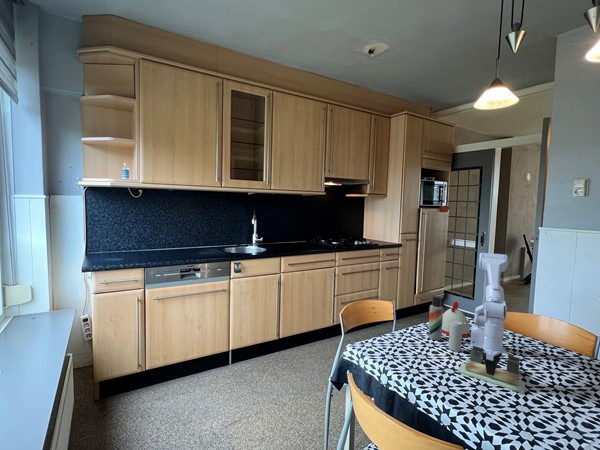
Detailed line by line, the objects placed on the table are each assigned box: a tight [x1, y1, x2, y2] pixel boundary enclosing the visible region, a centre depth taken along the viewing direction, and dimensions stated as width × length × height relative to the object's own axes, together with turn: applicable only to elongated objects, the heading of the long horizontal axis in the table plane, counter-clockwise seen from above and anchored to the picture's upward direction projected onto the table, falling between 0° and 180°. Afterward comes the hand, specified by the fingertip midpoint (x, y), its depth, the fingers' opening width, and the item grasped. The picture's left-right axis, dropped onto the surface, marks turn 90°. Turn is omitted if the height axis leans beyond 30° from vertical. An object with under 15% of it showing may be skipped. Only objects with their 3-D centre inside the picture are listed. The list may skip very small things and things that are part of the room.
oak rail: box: [465, 359, 520, 385], centre depth 110 cm, size 16×3×2 cm, turn 52°
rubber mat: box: [457, 362, 526, 394], centre depth 111 cm, size 20×8×1 cm, turn 52°
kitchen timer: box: [442, 300, 471, 338], centre depth 152 cm, size 14×14×15 cm
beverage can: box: [448, 321, 463, 353], centre depth 132 cm, size 5×5×12 cm
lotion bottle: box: [427, 295, 444, 341], centre depth 144 cm, size 6×6×20 cm
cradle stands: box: [469, 346, 521, 375], centre depth 118 cm, size 16×5×5 cm, turn 52°
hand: (490, 372), depth 111 cm, fingers closed on oak rail, 3 cm apart
